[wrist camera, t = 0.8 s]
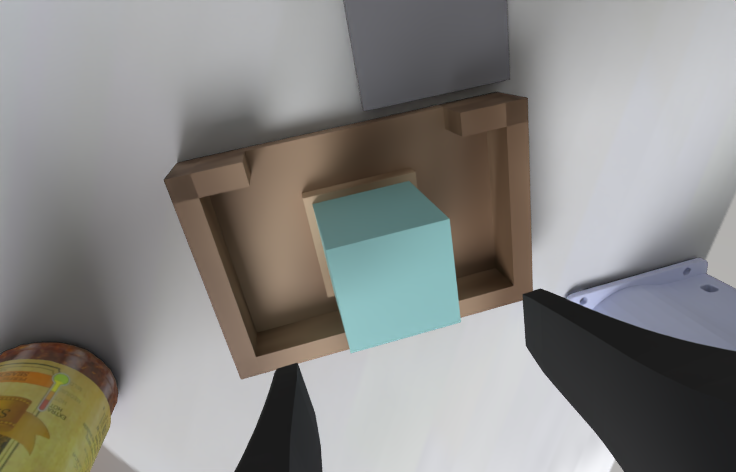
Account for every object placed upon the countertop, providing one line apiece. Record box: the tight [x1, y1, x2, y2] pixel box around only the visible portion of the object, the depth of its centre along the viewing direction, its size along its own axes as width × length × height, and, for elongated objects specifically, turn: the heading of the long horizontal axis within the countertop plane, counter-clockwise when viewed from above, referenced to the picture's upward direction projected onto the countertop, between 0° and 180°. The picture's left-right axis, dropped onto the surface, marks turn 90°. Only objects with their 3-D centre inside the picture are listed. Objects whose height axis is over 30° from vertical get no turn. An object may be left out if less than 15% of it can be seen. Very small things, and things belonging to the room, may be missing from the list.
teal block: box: [312, 181, 461, 353], centre depth 19 cm, size 4×4×5 cm
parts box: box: [164, 92, 533, 379], centre depth 21 cm, size 15×10×3 cm, turn 100°
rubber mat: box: [343, 0, 510, 111], centre depth 19 cm, size 7×7×1 cm
